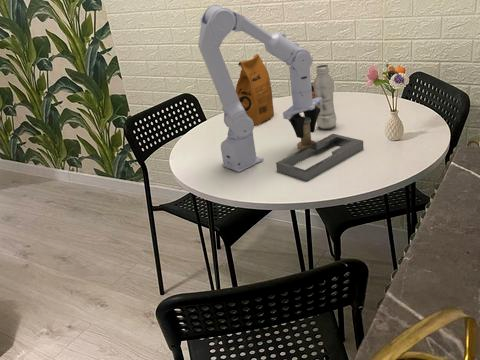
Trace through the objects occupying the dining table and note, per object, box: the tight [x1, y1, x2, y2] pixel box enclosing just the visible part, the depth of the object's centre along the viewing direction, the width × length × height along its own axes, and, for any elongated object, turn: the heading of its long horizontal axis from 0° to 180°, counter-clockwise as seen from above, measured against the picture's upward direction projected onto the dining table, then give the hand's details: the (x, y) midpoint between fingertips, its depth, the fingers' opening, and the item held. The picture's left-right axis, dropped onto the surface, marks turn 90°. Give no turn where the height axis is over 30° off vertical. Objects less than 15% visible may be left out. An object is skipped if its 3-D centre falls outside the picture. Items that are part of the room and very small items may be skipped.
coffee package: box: [235, 53, 275, 127], centre depth 176 cm, size 10×12×22 cm
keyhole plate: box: [275, 133, 365, 182], centre depth 142 cm, size 24×11×3 cm, turn 131°
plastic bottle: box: [312, 64, 337, 130], centre depth 160 cm, size 6×7×20 cm
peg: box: [296, 116, 317, 151], centre depth 151 cm, size 6×6×9 cm
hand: (305, 134), depth 151 cm, fingers open, 4 cm apart
